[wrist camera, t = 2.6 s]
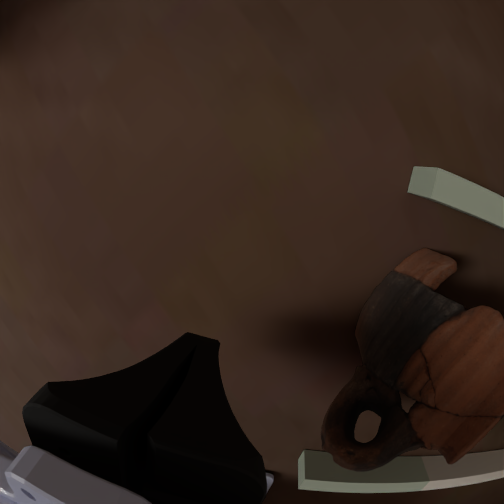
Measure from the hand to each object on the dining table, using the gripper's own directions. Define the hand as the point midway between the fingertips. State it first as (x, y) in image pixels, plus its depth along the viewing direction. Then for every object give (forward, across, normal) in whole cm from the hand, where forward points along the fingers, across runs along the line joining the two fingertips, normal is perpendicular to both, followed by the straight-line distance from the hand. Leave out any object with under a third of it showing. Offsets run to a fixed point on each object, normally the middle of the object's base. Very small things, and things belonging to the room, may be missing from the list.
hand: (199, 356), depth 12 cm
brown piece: (+4, -11, -1) cm, 11 cm away
